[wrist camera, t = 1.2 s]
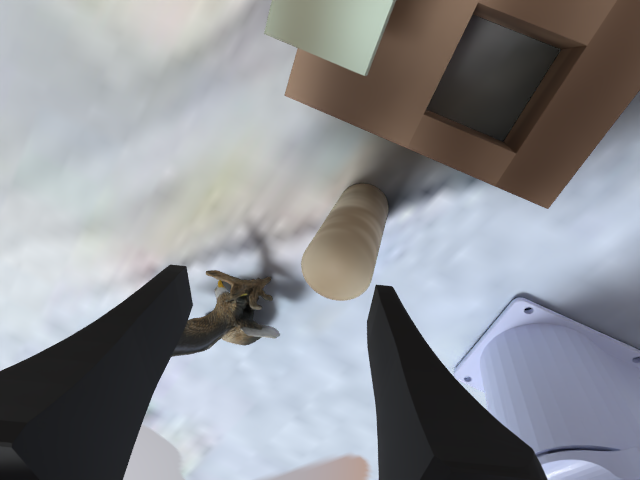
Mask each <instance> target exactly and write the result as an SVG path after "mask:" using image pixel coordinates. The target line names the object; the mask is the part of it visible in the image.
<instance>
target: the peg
mask: <svg viewBox="0 0 640 480" xmlns="http://www.w3.org/2000/svg"><path fill="white" fill-rule="evenodd" d="M388 210H389V206H388V201H387V199H386V197H385V195H384V194H383V192H382V191H381V190H380V189H378V188H377V187H375V186H373V185H370V184H364V183H361V184H355V185H353V186H350V187H349V188H347V189H346V190H345V191H344V192H343V194H342V195H341V197H340V198H339V200H338V201H337V203H336V204H335V206H334V207H333V209H332V211H331V212H330V214H329V215H328V217H327V218H326V220H325V221H324V223H323V224H322V226H321V227H320V229H319V230H318V232H317V233H316V235H315V237H314V238H313V240H312V241H311V243H310V244H309V246H308V247H307V249H306V250H305V252H304V254H303V257H302V261H301V268H302V273H303V276H304V278H305V280H306V282H307V283H308V284H309V286H310V287H311V288H312V289H313V290H314V291H315V292H317V293H318V294H320V295H322V296H324V297H326V298H329V299H332V300H340V301H343V300H350V299H354V298H356V297H358V296H360V295H361V294H363V293H364V292H365V291H366V290H367V288H368V287H369V285H370V283H371V280H372V276H373V272H374V268H375V264H376V260H377V256H378V252H379V248H380V243H381V239H382V235H383V231H384V227H385V223H386V219H387V215H388Z"/></svg>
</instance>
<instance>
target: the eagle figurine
mask: <svg viewBox="0 0 640 480" xmlns="http://www.w3.org/2000/svg"><path fill="white" fill-rule="evenodd" d="M206 275H208V276H212V277H214V278H216V279H218V280H219V282H218V286H217V288H215V295H216V299H217V304H216V307H215V309H214V310H213V311H212V312H211V313H209V314H208V315H206V316H204V317H201V318H193V319H190V320H188V321H187V324H186V327H185V329H184V331H183V333H182V336H181V338H180V340H179V342H178V344H177V346H176V348H175V350H174V352H173V354H172V356H171V357H173V356H179V355H189V354H193V353H197V352H202V351H205V350H207V349H209V348H210V347H212V346H213V345H214V344H215V343H216V342H217V341H218V340H220V339H221V338H222V339H223V340H225V341H227V342H231V343H235V344H239V345H249V344H251V343H253V342H255V341H256V340H258V339H260V338H261V337H266V338H273V339H275V338H277V337H278V336H280V333H279V332H278V331H277V329H275V328H273V327H270V326H266V325H261V324H258V323H256V322H255V321H254V320H253V314H254V309H256V310H261V309H262V307H261V306H259V305H257V300H258V299H259V297H258V296H261V297H262V298H264V299H265V300H268V301H272V300H273V298H272V296H270V295H267V294H265V292H264V291H263V290H262V289H263V288H264V286H265V285H266V284H267V283H269V282H270V281H271V277H267V278H264V279H260V278H257V279H256V280H255V279H252V280H240V279H238V278H235V277H233V276H230V275H227V274H225V273H222V272H220V271H216V270H214V271H206ZM222 281H225V282H227V283H229V284H230V285H231V287H232V288H231V291H230V293H229V292H228V290H227V289H226V288H225V287H224V286H223V284H222Z"/></svg>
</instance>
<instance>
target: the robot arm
mask: <svg viewBox="0 0 640 480" xmlns="http://www.w3.org/2000/svg"><path fill="white" fill-rule="evenodd" d="M192 306H193V303H192V297H191V291H190V285H189V279H188V273H187V267H186V266H179V265H169V266H168V267H167V268H165V269H164V270H163V271H161V272H160V273H159V274H158V275H156V276H155V277H154V278H153V279H151V280H150V281H149V282H148V283H146V284H145V285H144V286H143V287H141V288H140V289H139V290H138V291H136V292H135V293H134V294H132V295H131V296H130V297H128V298H127V299H126V300H124V301H123V302H122V303H120V304H119V305H118V306H116V307H115V308H113V309H112V310H110V311H109V312H108V313H106V314H105V315H103V316H102V317H100V318H99V319H97V320H96V321H94V322H93V323H91V324H90V325H88V326H87V327H85V328H83V329H82V330H80V331H78V332H77V333H75V334H73V335H72V336H70V337H68V338H66V339H64V340H63V341H61V342H59V343H57V344H55V345H53V346H51V347H49V348H47V349H46V350H44V351H42V352H40V353H38V354H36V355H34V356H32V357H30V358H28V359H26V360H24V361H21V362H19V363H17V364H15V365H13V366H11V367H8V368H6V369H4V370H2V371H0V480H123V477H124V474H125V471H126V468H127V465H128V462H129V459H130V455H131V453H132V449H133V447H134V444H135V441H136V439H137V436H138V433H139V430H140V427H141V424H142V422H143V419H144V416H145V414H146V411H147V408H148V406H149V403H150V400H151V398H152V395H153V393H154V391H155V388H156V386H157V384H158V382H159V380H160V378H161V376H162V374H163V372H164V370H165V368H166V366H167V364H168V362H169V360H170V358H171V356H172V354H173V352H174V350H175V348H176V346H177V344H178V342H179V340H180V338H181V336H182V333H183V331H184V329H185V327H186V324H187V321H188V318H189V315H190V312H191V309H192ZM527 307H531V309H530V310H524V309H525V308H527ZM367 344H368V354H369V361H370V368H371V375H372V382H373V389H374V396H375V404H376V414H377V436H378V464H379V480H640V350H638V349H636V348H634V347H632V346H629V345H627V344H625V343H623V342H621V341H618V340H616V339H614V338H612V337H609V336H607V335H605V334H603V333H601V332H598V331H596V330H594V329H592V328H590V327H587V326H585V325H583V324H581V323H578V322H576V321H574V320H572V319H570V318H567V317H565V316H563V315H561V314H558V313H556V312H554V311H552V310H550V309H547V308H545V307H543V306H541V305H539V304H536V303H534V302H532V301H530V300H527V299H525V298H522V297H520V298H515V299H514V300H513V301H512V302H511V303H510V304H509V305H508V306H507V308H506V309H505V310H504V311H503V312H502V314H501V315H500V316H499V317H498V318H497V320H496V321H495V322H494V323H493V324H492V326H491V327H490V328H489V329H488V330H487V332H486V333H485V334H484V335H483V336H482V337H481V339H480V340H479V341H478V342H477V343H476V345H475V346H474V347H473V348H472V349H471V351H470V352H469V353H468V354H467V355H466V357H465V358H464V359H463V360H462V361H461V363H460V364H459V365H458V366H457V367H456V368H455V370H454V376H453V375H452V374H451V373H450V372H449V371H448V369H447V368H446V367H445V366H444V365H443V364H442V362H441V361H440V360H439V359H438V357H437V356H436V355H435V353H434V352H433V351H432V349H431V348H430V347H429V345H428V344H427V342H426V341H425V340H424V338H423V337H422V335H421V334H420V332H419V331H418V329H417V328H416V326H415V324H414V323H413V321H412V320H411V318H410V316H409V315H408V313H407V311H406V310H405V308H404V306H403V304H402V303H401V301H400V299H399V297H398V295H397V293H396V292H395V290H394V288H393V287H392V286H384V285H376V287H375V291H374V295H373V299H372V303H371V307H370V312H369V316H368V320H367ZM635 357H638V358H636V359H633V358H635ZM454 377H455V378H456V379H457V380H459V381H461V382H463V383H465V384H467V385H470V386H472V387H474V388H476V389H478V390H480V391H482V392H484V393H485V397H486V402H487V408H488V411H487V410H486V409H485V408H484V407H483V406H482V405H481V404H480V403H479V402H478V401H477V400H476V399H475V398H474V397H473V396H472V395H471V394H470V393H469V392H468V391H467V390H466V389H465V388H464V387H463V386H462V385H461V384H460V383H459V382H458V381H457V380H456V379H455V378H454ZM466 377H469V378H466Z"/></svg>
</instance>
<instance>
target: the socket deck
mask: <svg viewBox="0 0 640 480" xmlns="http://www.w3.org/2000/svg"><path fill="white" fill-rule="evenodd" d="M472 14H473V15H476V16H478V17H481V18H483V19H486V20H488V21H491V22H493V23H496V24H498V25H501V26H503V27H506V28H508V29H511V30H513V31H516V32H518V33H521V34H523V35H526V36H528V37H531V38H533V39H536V40H539V41H541V42H544V43H546V44H549V45H551V46H554V47H556V48H559V49H561V51H560V52H559V54H558V55H557V57H556V59H555V60H554V62H553V63H552V65H551V67H550V68H549V70H548V71H547V73H546V75H545V76H544V78H543V79H542V81H541V83H540V84H539V86H538V87H537V89H536V91H535V92H534V94H533V95H532V97H531V99H530V100H529V102H528V103H527V105H526V107H525V108H524V110H523V111H522V113H521V115H520V116H519V118H518V119H517V121H516V122H515V124H514V126H513V127H512V129H511V130H510V132H509V134H508V135H507V137H506V138H505V140H504V142H502V141H500V140H498V139H495V138H493V137H491V136H488V135H486V134H483V133H481V132H479V131H476V130H474V129H472V128H469V127H467V126H464V125H462V124H460V123H457V122H455V121H453V120H450V119H448V118H445V117H443V116H441V115H438V114H436V113H434V112H431V111H429V110H426V108H427V106H428V104H429V102H430V100H431V98H432V96H433V94H434V92H435V90H436V88H437V86H438V84H439V82H440V80H441V78H442V76H443V74H444V71H445V69H446V67H447V65H448V63H449V61H450V59H451V57H452V55H453V53H454V51H455V49H456V47H457V45H458V43H459V41H460V39H461V37H462V35H463V33H464V30H465V28H466V26H467V24H468V22H469V20H470V18H471V16H472ZM264 34H266V35H268V36H271V37H273V38H275V39H278V40H280V41H282V42H285V43H287V44H290V45H292V46H294V47H297V48H298V49H297V53H296V56H295V60H294V63H293V67H292V70H291V74H290V77H289V81H288V85H287V88H286V92H285V96H287V97H289V98H292V99H294V100H296V101H299V102H301V103H303V104H305V105H308V106H310V107H312V108H315V109H317V110H319V111H322V112H324V113H326V114H329V115H331V116H333V117H336V118H338V119H340V120H343V121H345V122H347V123H350V124H352V125H354V126H356V127H359V128H361V129H363V130H366V131H368V132H370V133H373V134H375V135H377V136H380V137H382V138H384V139H387V140H389V141H391V142H394V143H396V144H398V145H401V146H403V147H405V148H407V149H410V150H412V151H414V152H417V153H419V154H421V155H424V156H426V157H428V158H431V159H433V160H435V161H438V162H440V163H442V164H445V165H447V166H449V167H452V168H454V169H456V170H458V171H461V172H463V173H465V174H468V175H470V176H472V177H475V178H477V179H479V180H482V181H484V182H486V183H489V184H491V185H493V186H496V187H498V188H500V189H503V190H505V191H507V192H510V193H512V194H514V195H516V196H519V197H521V198H523V199H526V200H528V201H530V202H533V203H535V204H537V205H540V206H542V207H544V208H547V209H548V208H549V207H550V206H551V204H552V203H553V202H554V201H555V199H556V198H557V197H558V195H559V194H560V193H561V191H562V190H563V189H564V188H565V186H566V185H567V184H568V182H569V181H570V180H571V179H572V177H573V176H574V175H575V173H576V172H577V171H578V169H579V168H580V167H581V166H582V164H583V163H584V162H585V160H586V159H587V158H588V156H589V155H590V154H591V153H592V151H593V150H594V149H595V147H596V146H597V145H598V143H599V142H600V141H601V140H602V138H603V137H604V136H605V134H606V133H607V132H608V130H609V129H610V128H611V127H612V125H613V124H614V123H615V121H616V120H617V119H618V117H619V116H620V115H621V114H622V112H623V111H624V110H625V108H626V107H627V106H628V105H629V103H630V102H631V101H632V99H633V98H634V97H635V95H636V94H637V93H638V92H639V90H640V0H272V2H271V6H270V11H269V15H268V19H267V24H266V28H265V32H264Z"/></svg>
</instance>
